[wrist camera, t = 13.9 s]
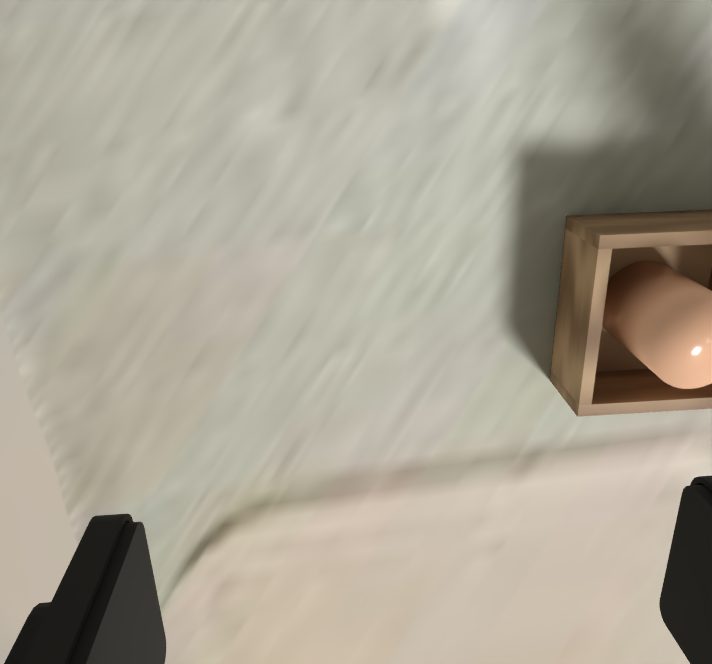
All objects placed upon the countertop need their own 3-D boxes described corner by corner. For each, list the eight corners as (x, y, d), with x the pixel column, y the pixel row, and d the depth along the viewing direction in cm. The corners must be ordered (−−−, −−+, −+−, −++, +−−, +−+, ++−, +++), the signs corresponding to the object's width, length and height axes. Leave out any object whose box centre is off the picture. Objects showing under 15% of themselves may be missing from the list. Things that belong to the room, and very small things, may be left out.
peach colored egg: (603, 262, 41) (658, 300, 34) (688, 258, 41) (758, 294, 35) (593, 342, 43) (643, 391, 37) (673, 338, 43) (737, 385, 37)
